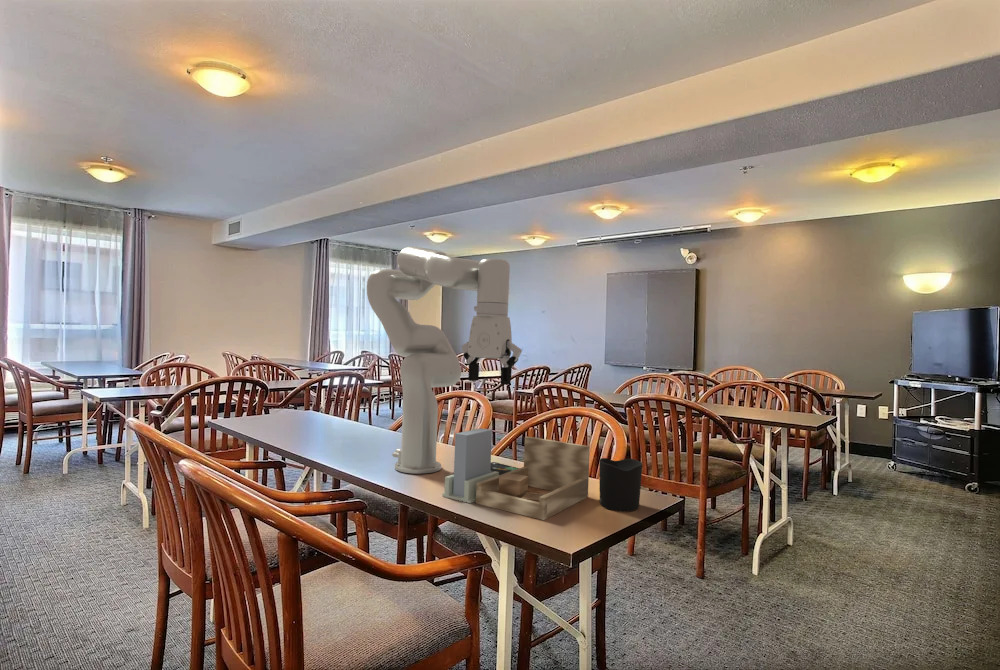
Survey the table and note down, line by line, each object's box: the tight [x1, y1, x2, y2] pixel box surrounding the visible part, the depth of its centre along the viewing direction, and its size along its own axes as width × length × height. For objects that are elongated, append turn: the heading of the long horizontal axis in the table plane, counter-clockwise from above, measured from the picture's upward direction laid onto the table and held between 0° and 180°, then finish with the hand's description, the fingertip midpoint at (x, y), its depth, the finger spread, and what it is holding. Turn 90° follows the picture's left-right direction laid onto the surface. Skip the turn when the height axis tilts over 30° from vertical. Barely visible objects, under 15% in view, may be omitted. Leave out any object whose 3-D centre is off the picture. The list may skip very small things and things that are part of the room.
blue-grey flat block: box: [453, 427, 493, 497], centre depth 130 cm, size 3×10×14 cm, turn 146°
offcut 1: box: [499, 473, 529, 495], centre depth 124 cm, size 5×5×3 cm
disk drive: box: [490, 461, 520, 475], centre depth 145 cm, size 10×3×15 cm
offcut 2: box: [497, 489, 529, 498], centre depth 124 cm, size 5×5×3 cm
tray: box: [475, 436, 591, 521], centre depth 127 cm, size 17×21×12 cm
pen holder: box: [599, 457, 643, 513], centre depth 125 cm, size 9×9×10 cm
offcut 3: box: [522, 491, 545, 502], centre depth 120 cm, size 5×5×3 cm
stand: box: [441, 471, 499, 504], centre depth 130 cm, size 8×12×5 cm, turn 146°
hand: (489, 382), depth 133 cm, fingers open, 9 cm apart
